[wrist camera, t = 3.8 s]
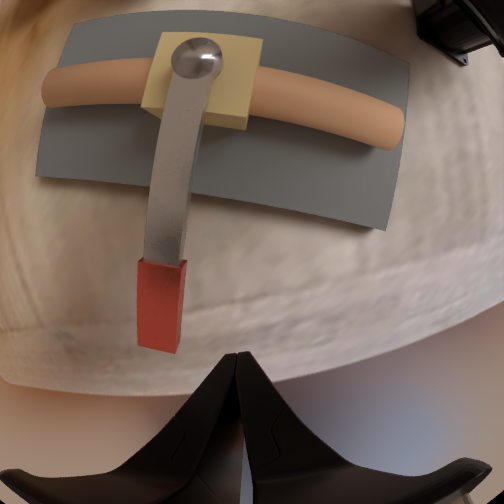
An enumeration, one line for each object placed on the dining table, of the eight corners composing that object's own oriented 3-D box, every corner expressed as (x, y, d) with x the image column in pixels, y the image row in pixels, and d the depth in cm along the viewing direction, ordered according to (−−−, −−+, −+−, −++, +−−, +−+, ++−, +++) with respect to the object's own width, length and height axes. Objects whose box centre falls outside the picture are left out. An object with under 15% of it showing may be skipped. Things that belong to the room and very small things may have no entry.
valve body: (400, 68, 16) (442, 45, 10) (376, 227, 20) (420, 247, 14) (81, 30, 14) (46, 4, 8) (45, 175, 18) (-3, 181, 12)
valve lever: (182, 46, 11) (176, 34, 9) (228, 49, 11) (226, 37, 10) (143, 332, 15) (136, 344, 14) (181, 340, 15) (177, 354, 14)
